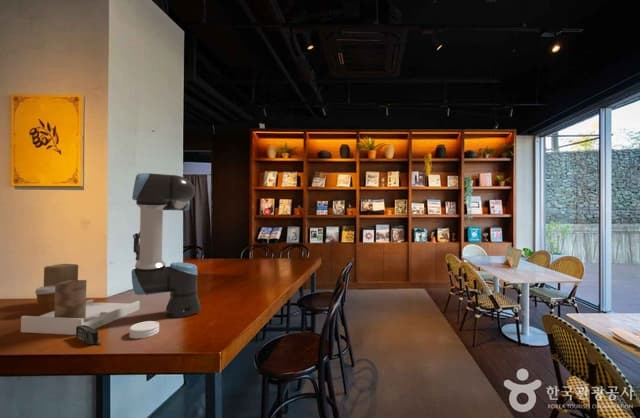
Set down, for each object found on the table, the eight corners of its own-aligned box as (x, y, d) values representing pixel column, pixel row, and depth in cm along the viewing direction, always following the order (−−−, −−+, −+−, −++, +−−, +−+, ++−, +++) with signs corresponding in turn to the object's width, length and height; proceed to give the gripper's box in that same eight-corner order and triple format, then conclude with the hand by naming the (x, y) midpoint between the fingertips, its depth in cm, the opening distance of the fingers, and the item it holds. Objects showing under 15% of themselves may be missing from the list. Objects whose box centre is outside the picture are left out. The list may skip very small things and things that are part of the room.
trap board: (90, 307, 144) (91, 295, 144) (139, 309, 142) (139, 296, 142) (20, 332, 114) (21, 316, 114) (81, 335, 111) (81, 319, 111)
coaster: (140, 329, 118) (140, 320, 118) (164, 329, 117) (164, 320, 117) (122, 339, 108) (122, 330, 108) (148, 340, 107) (148, 330, 107)
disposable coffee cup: (30, 317, 129) (31, 290, 129) (39, 311, 138) (39, 286, 138) (58, 314, 134) (59, 288, 134) (64, 308, 142) (65, 284, 142)
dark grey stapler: (74, 325, 108) (93, 333, 101) (83, 323, 111) (103, 330, 103) (74, 339, 108) (93, 347, 101) (83, 336, 111) (103, 344, 103)
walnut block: (85, 318, 122) (86, 280, 123) (73, 324, 115) (74, 283, 116) (67, 318, 121) (68, 280, 122) (54, 324, 114) (55, 284, 115)
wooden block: (57, 307, 143) (58, 267, 144) (41, 306, 145) (43, 266, 146) (78, 301, 153) (79, 264, 154) (63, 300, 155) (64, 263, 156)
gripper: (155, 234, 168) (145, 272, 154) (133, 224, 158) (120, 264, 144) (163, 229, 165) (154, 268, 151) (142, 220, 155) (129, 260, 142)
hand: (137, 266), depth 148 cm, fingers closed
